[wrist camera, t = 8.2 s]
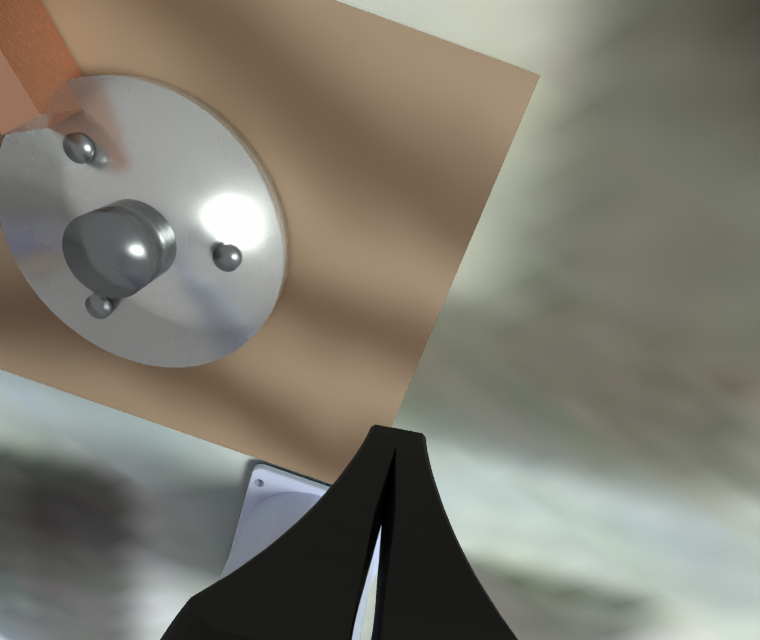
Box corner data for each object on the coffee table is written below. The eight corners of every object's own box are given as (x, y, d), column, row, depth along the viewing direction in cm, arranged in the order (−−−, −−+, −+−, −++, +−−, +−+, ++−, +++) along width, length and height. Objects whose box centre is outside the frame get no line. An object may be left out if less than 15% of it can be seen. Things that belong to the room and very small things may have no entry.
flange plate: (337, 313, 21) (318, 350, 18) (120, 382, 24) (77, 423, 21) (117, -151, 15) (43, -197, 12) (-129, 20, 18) (-231, 13, 15)
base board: (367, 472, 26) (348, 556, 22) (-73, 319, 26) (-184, 373, 21) (534, 74, 17) (559, 78, 13) (-129, -168, 17) (-338, -249, 13)
